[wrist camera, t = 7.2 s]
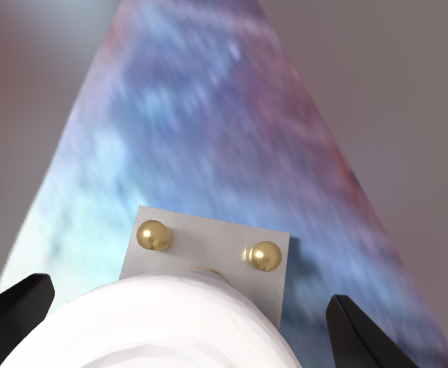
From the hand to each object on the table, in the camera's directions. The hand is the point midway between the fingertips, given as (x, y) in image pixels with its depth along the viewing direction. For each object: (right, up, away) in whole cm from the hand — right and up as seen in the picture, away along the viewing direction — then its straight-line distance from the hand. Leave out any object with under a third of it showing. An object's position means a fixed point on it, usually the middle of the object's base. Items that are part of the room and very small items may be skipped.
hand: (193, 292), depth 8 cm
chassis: (-1, -4, +8) cm, 9 cm away
